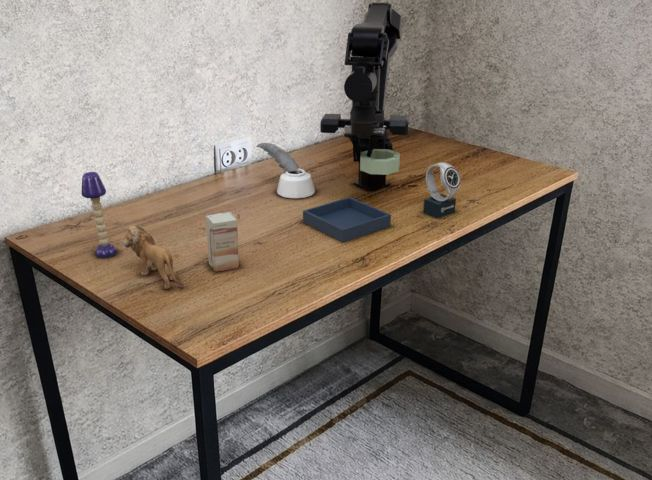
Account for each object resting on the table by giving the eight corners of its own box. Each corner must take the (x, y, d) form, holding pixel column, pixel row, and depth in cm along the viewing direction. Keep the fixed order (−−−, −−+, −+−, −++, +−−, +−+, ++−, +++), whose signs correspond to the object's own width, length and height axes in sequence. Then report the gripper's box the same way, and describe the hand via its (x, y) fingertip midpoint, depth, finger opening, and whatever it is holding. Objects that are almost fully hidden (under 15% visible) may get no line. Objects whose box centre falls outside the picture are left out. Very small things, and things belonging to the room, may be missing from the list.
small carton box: (215, 272, 147) (211, 223, 142) (208, 263, 150) (204, 215, 145) (240, 267, 149) (237, 218, 143) (233, 258, 152) (230, 210, 147)
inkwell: (297, 202, 178) (296, 159, 172) (242, 185, 188) (240, 144, 183) (323, 191, 184) (323, 149, 178) (268, 175, 194) (267, 135, 189)
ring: (352, 167, 171) (352, 154, 169) (381, 159, 175) (381, 146, 174) (378, 177, 165) (378, 163, 163) (407, 169, 169) (407, 155, 168)
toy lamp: (104, 260, 152) (90, 179, 144) (87, 255, 155) (73, 175, 146) (121, 251, 156) (109, 171, 147) (104, 247, 158) (91, 168, 149)
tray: (302, 222, 167) (302, 210, 166) (349, 208, 174) (349, 196, 173) (342, 242, 158) (343, 230, 157) (390, 226, 165) (391, 214, 163)
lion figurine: (122, 271, 148) (115, 228, 143) (143, 262, 151) (138, 219, 147) (173, 293, 140) (168, 248, 135) (195, 283, 143) (190, 238, 139)
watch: (444, 220, 167) (448, 171, 161) (417, 210, 172) (420, 162, 166) (461, 214, 170) (466, 165, 164) (434, 204, 175) (438, 157, 169)
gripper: (317, 99, 156) (317, 173, 164) (409, 100, 154) (405, 176, 162) (323, 86, 166) (323, 157, 174) (410, 88, 163) (406, 160, 171)
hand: (363, 163), depth 170 cm, fingers closed on ring
